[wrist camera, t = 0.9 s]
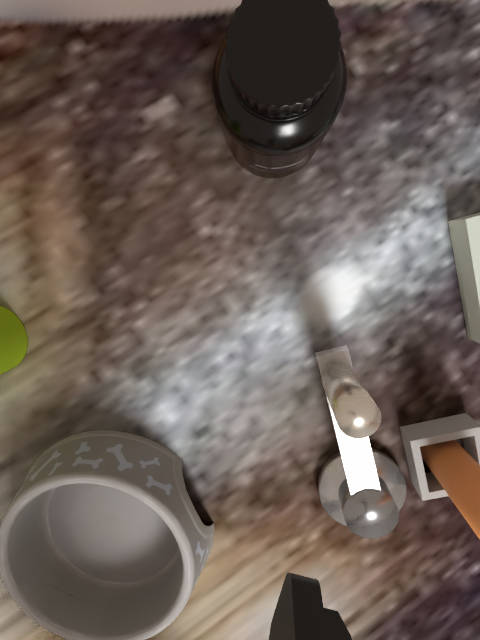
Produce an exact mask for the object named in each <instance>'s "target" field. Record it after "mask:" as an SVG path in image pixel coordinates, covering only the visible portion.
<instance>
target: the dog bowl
mask: <svg viewBox="0 0 480 640" xmlns="http://www.w3.org/2000/svg"><path fill="white" fill-rule="evenodd" d="M213 538H214V523H213V524H212V525H210V526H206V525H204V524H203V523H202V521H201V520H200V518H199V516H198V514H197V512H196V510H195V508H194V506H193V504H192V502H191V500H190V497H189V495H188V493H187V490H186V488H185V483H184V479H183V474H182V459H181V458H180V457H179V456H177V455H176V454H175V453H173V452H172V451H170V450H169V449H167V448H166V447H164V446H162V445H160V444H159V443H156V442H154V441H152V440H150V439H147V438H145V437H142V436H138V435H135V434H131V433H126V432H121V431H114V430H93V431H86V432H81V433H77V434H74V435H71V436H68V437H66V438H64V439H62V440H60V441H58V442H56V443H55V444H53V445H52V446H50V447H49V448H48V449H46V450H45V451H44V452H43V453H42V454H41V455H40V456H39V457H38V458H37V460H36V461H35V462H34V464H33V465H32V467H31V468H30V470H29V472H28V474H27V475H26V477H25V479H24V482H23V483H22V485H21V487H20V488H19V490H18V492H17V493H16V495H15V497H14V498H13V500H12V502H11V504H10V505H9V507H8V509H7V510H6V512H5V514H4V516H3V518H2V521H1V523H0V574H1V577H2V580H3V582H4V584H5V587H6V588H7V590H8V592H9V594H10V595H11V597H12V598H13V599H14V601H15V602H16V603H17V605H18V606H19V607H20V608H21V609H22V610H23V611H24V612H25V613H26V614H27V615H28V616H29V617H30V618H31V619H33V620H34V621H35V622H36V623H38V624H39V625H40V626H42V627H43V628H45V629H47V630H48V631H50V632H52V633H54V634H56V635H58V636H60V637H63V638H65V639H68V640H146V639H148V638H150V637H152V636H154V635H156V634H158V633H159V632H161V631H162V630H164V629H165V628H166V627H168V626H169V625H170V624H171V623H172V622H173V621H174V620H175V619H176V618H177V616H178V615H179V614H180V613H181V611H182V610H183V608H184V607H185V605H186V603H187V601H188V599H189V597H190V595H191V593H192V591H193V588H194V586H195V584H196V582H197V580H198V577H199V575H200V573H201V571H202V569H203V567H204V565H205V563H206V561H207V559H208V557H209V554H210V551H211V548H212V544H213Z"/></svg>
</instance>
